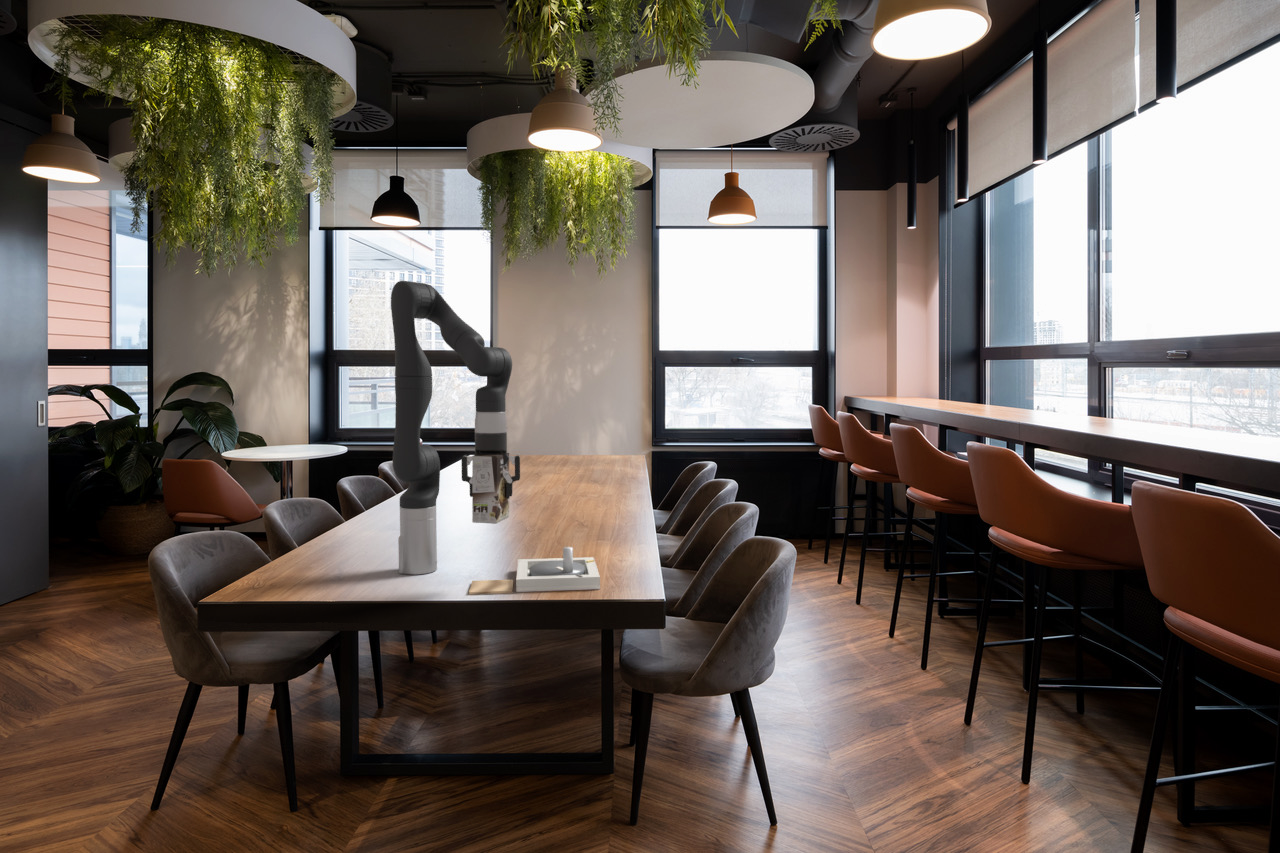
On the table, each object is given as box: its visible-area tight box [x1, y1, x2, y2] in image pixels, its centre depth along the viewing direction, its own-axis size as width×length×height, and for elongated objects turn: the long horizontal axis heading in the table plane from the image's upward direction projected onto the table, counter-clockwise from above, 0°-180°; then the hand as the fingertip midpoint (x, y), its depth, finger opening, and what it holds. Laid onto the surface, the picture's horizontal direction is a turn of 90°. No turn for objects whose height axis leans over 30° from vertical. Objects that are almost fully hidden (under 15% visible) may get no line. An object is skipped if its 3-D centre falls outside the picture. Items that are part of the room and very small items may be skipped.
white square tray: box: [515, 556, 601, 593], centre depth 187 cm, size 20×20×3 cm
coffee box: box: [471, 452, 510, 525], centre depth 178 cm, size 9×6×16 cm
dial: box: [529, 546, 585, 576], centre depth 187 cm, size 14×14×8 cm
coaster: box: [468, 579, 514, 596], centre depth 179 cm, size 10×10×1 cm
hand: (491, 498), depth 178 cm, fingers closed on coffee box, 7 cm apart
